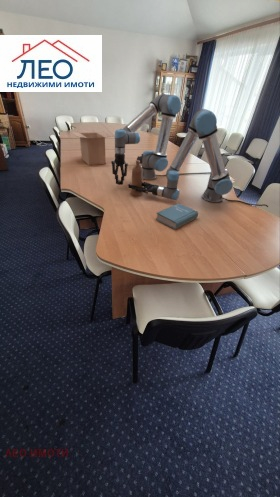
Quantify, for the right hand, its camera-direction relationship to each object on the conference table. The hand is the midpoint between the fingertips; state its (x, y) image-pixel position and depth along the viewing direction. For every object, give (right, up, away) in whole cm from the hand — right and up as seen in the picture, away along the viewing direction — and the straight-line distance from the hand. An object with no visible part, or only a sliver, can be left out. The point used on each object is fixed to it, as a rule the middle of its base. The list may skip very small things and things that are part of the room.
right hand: (131, 184), depth 170 cm
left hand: (-10, +2, +7) cm, 12 cm away
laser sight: (+14, +44, +73) cm, 86 cm away
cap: (-10, +4, +6) cm, 12 cm away
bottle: (+4, -7, +3) cm, 8 cm away
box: (-43, +44, +67) cm, 91 cm away
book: (+31, -31, -27) cm, 51 cm away
